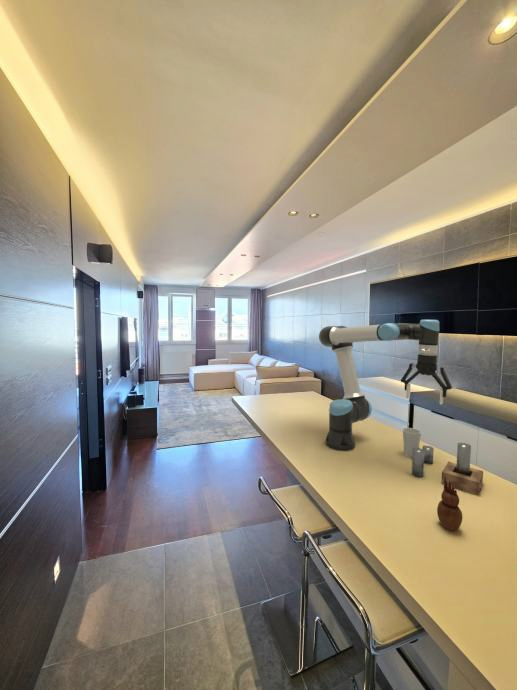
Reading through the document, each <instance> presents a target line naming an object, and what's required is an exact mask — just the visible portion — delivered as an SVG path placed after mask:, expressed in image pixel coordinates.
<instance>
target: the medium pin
mask: <svg viewBox="0 0 517 690" xmlns="http://www.w3.org/2000/svg"><path fill="white" fill-rule="evenodd" d="M424 452H425V451H424V450H423V448H421V447H419V448H413V454H412V457H411V460H412V461H411V475H412V476H413V477H415V478H418V479H419V478H420V479H421V478H423V477H424V474H425V472H424V471H425V470H424V469H425V463H424Z"/></svg>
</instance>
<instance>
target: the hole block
mask: <svg viewBox="0 0 517 690" xmlns="http://www.w3.org/2000/svg"><path fill="white" fill-rule="evenodd" d="M456 466H457V463H456V462H451V461H448V462H447V463H446V464H445V466H444V468H443V470H442V471H441V485H444V478H446V481H447V485H449V482H451V488H452V486H454V489H455V490H459V489H460V490H459V491H463V492H465V493H469V494H473V495H475V496H479V495H480V492H481V489H482V485H483V482H484V481H483V480H484V470H480V469H478V468H473V467H470V475H469V476H466V475H462V474H459V473H456Z"/></svg>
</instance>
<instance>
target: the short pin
mask: <svg viewBox="0 0 517 690" xmlns="http://www.w3.org/2000/svg"><path fill="white" fill-rule="evenodd" d="M422 449H423V450H424V451H425V452H424V465H425V464H426V465H433V464H434V451H435V450H434V447H432V446H430V445H423V446H422Z"/></svg>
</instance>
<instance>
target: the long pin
mask: <svg viewBox="0 0 517 690" xmlns="http://www.w3.org/2000/svg"><path fill="white" fill-rule="evenodd" d="M456 447H457V449H456V464H457V466H456V473H459V474H462V475H466V476H469V475H470V468H471V455H472V453H471V452H472V445H471V444H469V443H465V442H458V443H457V446H456Z"/></svg>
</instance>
